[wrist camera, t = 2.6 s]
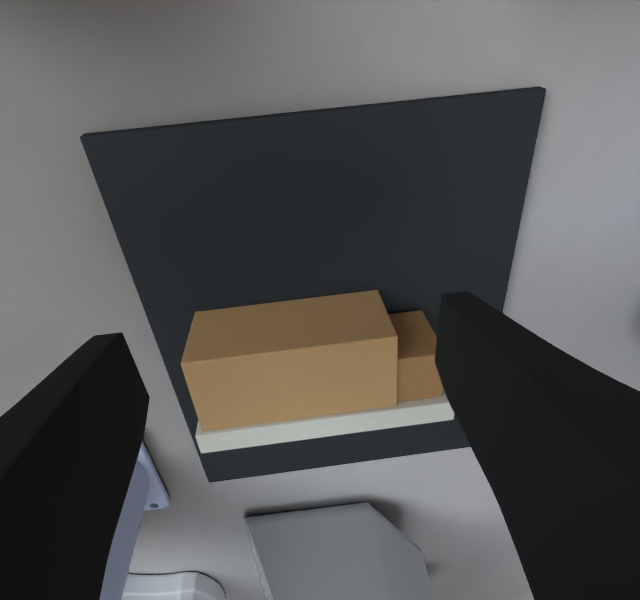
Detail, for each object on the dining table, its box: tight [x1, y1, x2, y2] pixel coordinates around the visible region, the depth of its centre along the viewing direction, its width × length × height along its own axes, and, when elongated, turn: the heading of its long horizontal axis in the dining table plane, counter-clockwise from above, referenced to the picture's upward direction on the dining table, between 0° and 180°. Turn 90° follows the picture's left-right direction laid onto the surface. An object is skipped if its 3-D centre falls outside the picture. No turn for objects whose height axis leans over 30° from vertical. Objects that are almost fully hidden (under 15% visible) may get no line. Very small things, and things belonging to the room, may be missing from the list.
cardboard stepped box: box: [181, 290, 454, 453], centre depth 21 cm, size 12×5×4 cm, turn 94°
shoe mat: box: [80, 87, 546, 482], centre depth 23 cm, size 18×22×1 cm
